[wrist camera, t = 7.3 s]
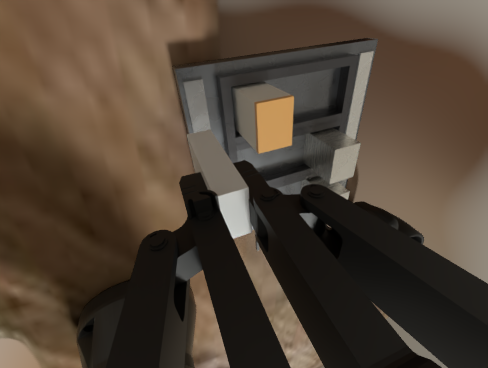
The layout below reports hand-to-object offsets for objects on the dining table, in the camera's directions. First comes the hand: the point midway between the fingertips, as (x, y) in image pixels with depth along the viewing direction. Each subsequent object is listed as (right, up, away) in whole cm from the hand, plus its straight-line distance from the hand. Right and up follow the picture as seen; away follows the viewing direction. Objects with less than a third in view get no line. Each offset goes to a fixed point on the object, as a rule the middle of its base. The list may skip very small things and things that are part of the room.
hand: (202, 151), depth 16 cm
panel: (+7, +2, +13) cm, 15 cm away
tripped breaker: (+3, +5, +7) cm, 9 cm away
